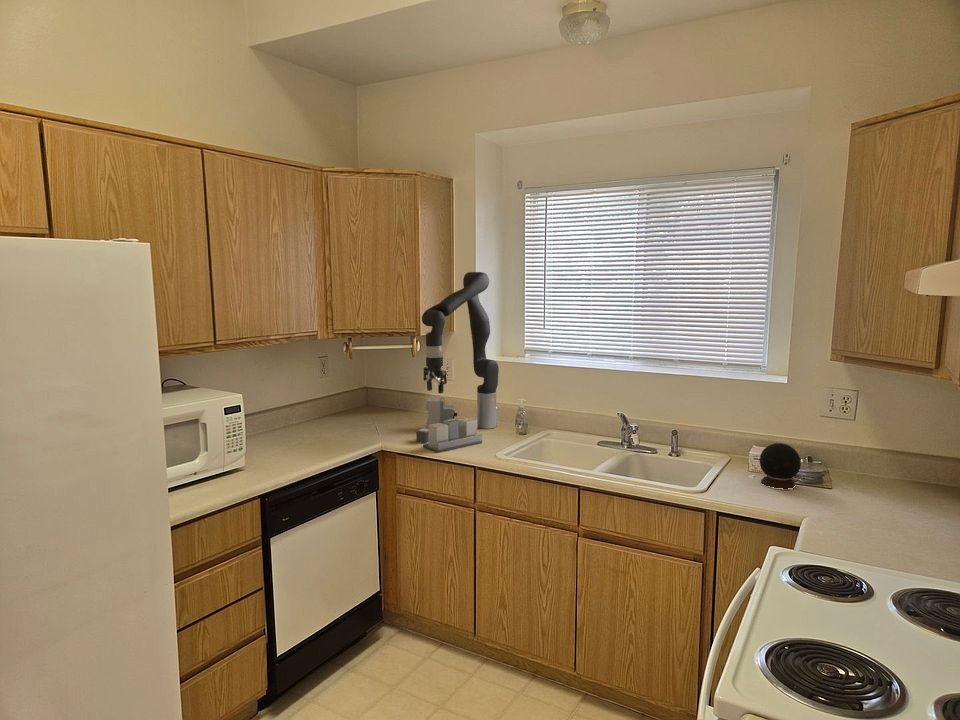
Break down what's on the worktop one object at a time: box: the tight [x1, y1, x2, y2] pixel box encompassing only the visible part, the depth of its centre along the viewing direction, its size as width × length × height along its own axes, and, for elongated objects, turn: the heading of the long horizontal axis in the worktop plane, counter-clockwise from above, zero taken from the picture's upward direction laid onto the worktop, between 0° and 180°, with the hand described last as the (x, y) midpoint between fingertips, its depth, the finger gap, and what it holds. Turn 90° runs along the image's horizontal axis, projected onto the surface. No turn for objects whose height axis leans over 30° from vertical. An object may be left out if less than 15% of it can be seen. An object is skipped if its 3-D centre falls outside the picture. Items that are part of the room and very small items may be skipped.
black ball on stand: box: [759, 442, 802, 489], centre depth 220 cm, size 13×13×15 cm
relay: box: [415, 428, 429, 444], centre depth 276 cm, size 5×5×5 cm
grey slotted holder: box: [422, 417, 483, 454], centre depth 270 cm, size 24×11×10 cm, turn 130°
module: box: [443, 418, 459, 439], centre depth 282 cm, size 6×4×9 cm
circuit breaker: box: [425, 397, 458, 429], centre depth 295 cm, size 8×14×15 cm, turn 89°
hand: (435, 391), depth 277 cm, fingers open, 8 cm apart
